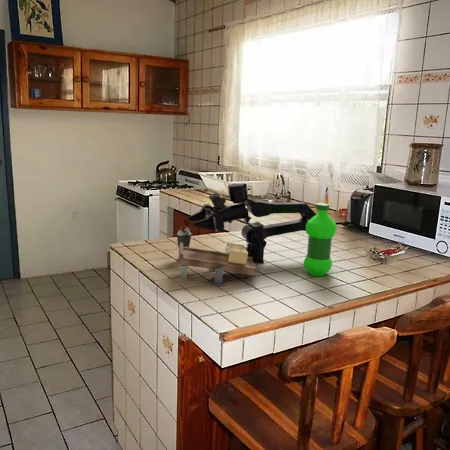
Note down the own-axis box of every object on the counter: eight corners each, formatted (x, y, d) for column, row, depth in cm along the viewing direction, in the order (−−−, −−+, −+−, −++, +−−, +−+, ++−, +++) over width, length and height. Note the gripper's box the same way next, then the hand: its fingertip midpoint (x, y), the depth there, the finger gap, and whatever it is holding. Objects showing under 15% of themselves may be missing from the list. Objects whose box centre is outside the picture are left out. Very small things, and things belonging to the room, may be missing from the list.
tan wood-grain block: (241, 258, 159) (243, 245, 158) (245, 267, 150) (248, 253, 149) (224, 256, 159) (227, 242, 158) (227, 265, 149) (230, 250, 148)
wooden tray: (250, 264, 163) (252, 253, 162) (257, 277, 148) (259, 265, 148) (178, 253, 159) (180, 242, 158) (178, 266, 145) (180, 254, 144)
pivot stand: (219, 267, 164) (220, 252, 163) (224, 286, 146) (225, 269, 144) (180, 267, 163) (181, 252, 161) (180, 285, 144) (181, 269, 143)
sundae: (176, 263, 167) (176, 223, 164) (173, 257, 173) (173, 219, 170) (193, 262, 169) (194, 222, 165) (190, 257, 175) (191, 218, 172)
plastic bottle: (338, 276, 160) (345, 206, 154) (314, 280, 154) (321, 207, 149) (318, 267, 168) (324, 201, 162) (296, 271, 163) (301, 202, 157)
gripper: (222, 187, 173) (182, 195, 170) (236, 196, 156) (192, 205, 152) (226, 215, 177) (186, 223, 173) (240, 227, 159) (197, 236, 156)
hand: (190, 221), depth 163 cm, fingers open, 9 cm apart
